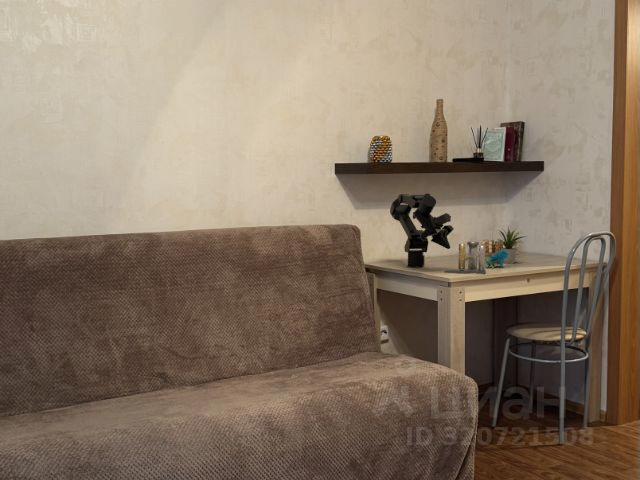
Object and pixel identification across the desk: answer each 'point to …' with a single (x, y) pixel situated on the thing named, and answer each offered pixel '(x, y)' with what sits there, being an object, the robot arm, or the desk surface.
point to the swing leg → (462, 256)
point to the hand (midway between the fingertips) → (449, 248)
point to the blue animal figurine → (497, 258)
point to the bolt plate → (463, 271)
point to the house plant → (510, 245)
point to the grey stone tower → (473, 252)
